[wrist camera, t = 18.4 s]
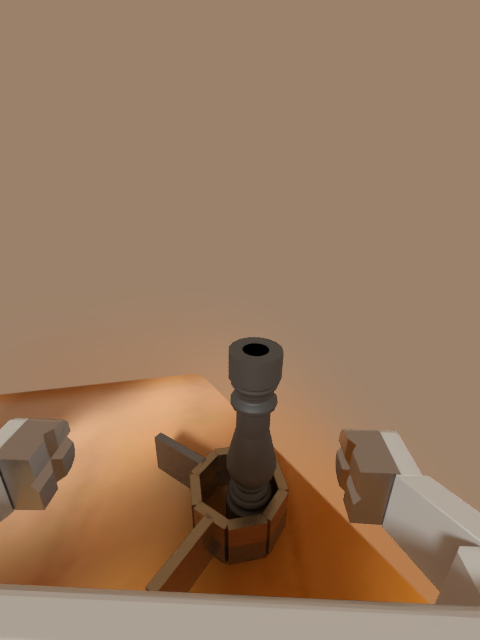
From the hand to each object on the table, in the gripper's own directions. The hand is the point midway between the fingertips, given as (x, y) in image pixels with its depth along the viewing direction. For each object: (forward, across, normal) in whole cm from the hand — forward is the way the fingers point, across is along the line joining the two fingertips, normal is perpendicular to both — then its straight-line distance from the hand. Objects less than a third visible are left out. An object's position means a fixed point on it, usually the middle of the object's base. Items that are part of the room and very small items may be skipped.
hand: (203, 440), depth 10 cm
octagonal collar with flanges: (+21, -5, -34) cm, 40 cm away
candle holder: (+23, +2, -34) cm, 41 cm away
